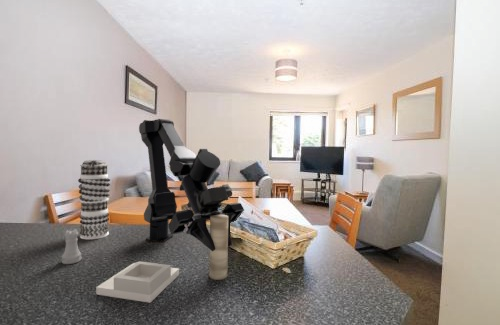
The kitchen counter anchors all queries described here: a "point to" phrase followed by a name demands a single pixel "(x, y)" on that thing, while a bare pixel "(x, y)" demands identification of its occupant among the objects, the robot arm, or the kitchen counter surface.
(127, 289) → the socket base
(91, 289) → the kitchen counter surface
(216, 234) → the birch post
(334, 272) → the kitchen counter surface
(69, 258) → the rook chess piece
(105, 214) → the decorative candle
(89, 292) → the kitchen counter surface
